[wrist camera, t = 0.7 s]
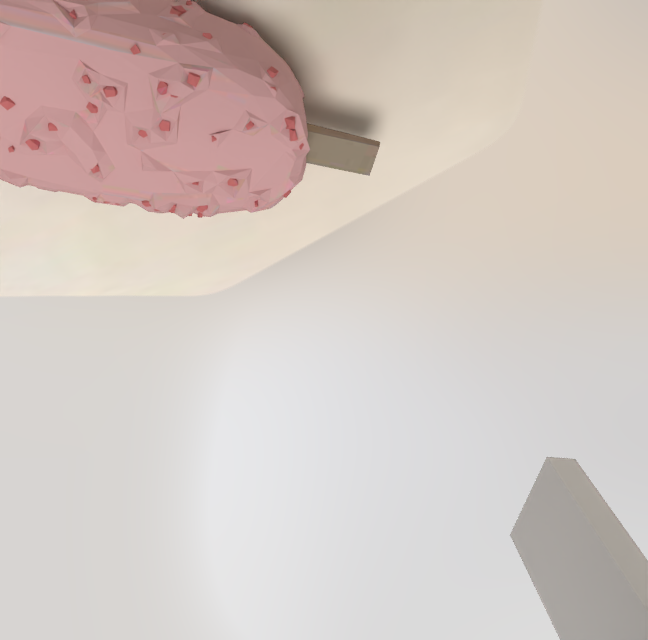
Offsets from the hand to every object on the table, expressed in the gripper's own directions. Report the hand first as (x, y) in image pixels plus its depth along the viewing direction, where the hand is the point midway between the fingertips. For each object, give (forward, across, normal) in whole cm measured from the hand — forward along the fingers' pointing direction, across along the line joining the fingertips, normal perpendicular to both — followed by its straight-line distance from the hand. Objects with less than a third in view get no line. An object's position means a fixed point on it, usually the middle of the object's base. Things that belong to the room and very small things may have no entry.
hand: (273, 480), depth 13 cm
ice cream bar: (+32, -8, +5) cm, 33 cm away
